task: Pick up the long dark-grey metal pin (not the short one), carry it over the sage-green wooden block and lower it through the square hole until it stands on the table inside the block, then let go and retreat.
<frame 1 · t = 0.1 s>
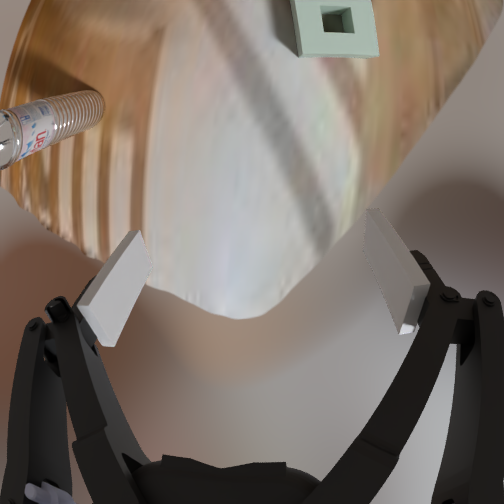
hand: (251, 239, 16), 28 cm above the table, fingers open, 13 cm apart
water bottle: (90, 108, 36), on the table
hole block: (329, 26, 29), on the table
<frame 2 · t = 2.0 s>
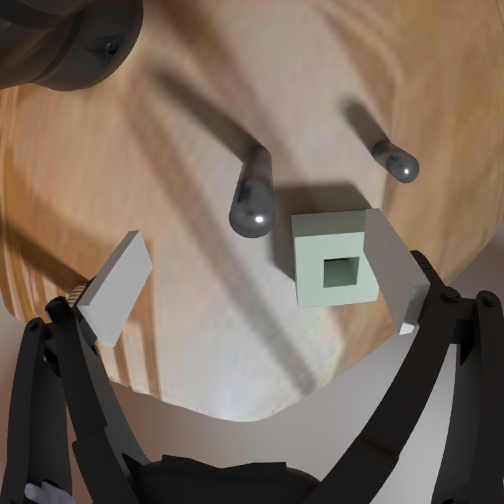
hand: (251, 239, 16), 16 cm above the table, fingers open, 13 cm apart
short pin: (384, 152, 28), on the table
long pin: (257, 158, 29), on the table
hole block: (333, 248, 35), on the table
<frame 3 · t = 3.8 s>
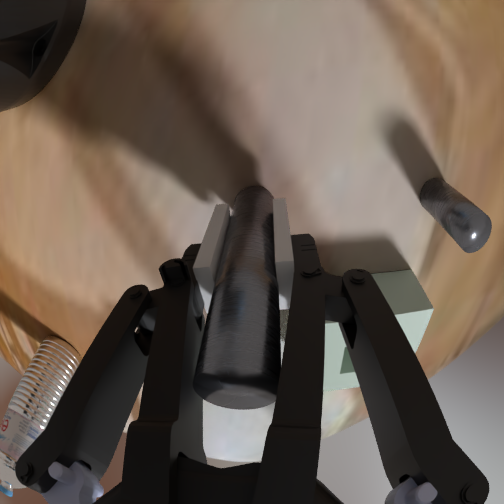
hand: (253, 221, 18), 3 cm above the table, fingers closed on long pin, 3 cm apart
water bottle: (64, 348, 33), on the table
short pin: (434, 194, 18), on the table
long pin: (254, 204, 20), on the table, touching gripper
hole block: (353, 316, 26), on the table
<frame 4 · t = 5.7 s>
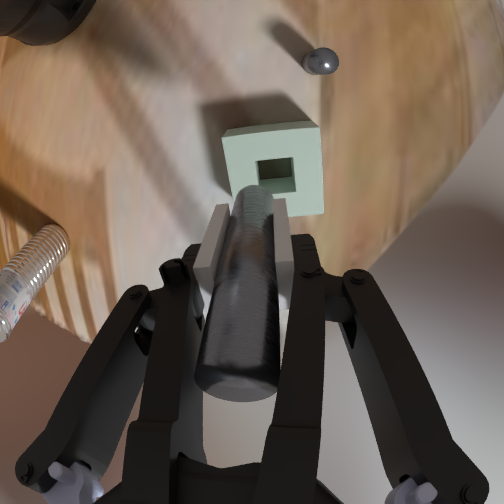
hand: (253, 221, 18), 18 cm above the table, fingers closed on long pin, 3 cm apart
water bottle: (57, 237, 42), on the table
short pin: (314, 63, 27), on the table
long pin: (254, 203, 20), point 16 cm above the table, touching gripper
hole block: (274, 163, 34), on the table
when the fingers open (6 cm above the table, at t = 7.9 s): long pin drops 2 cm, resting in hole block.
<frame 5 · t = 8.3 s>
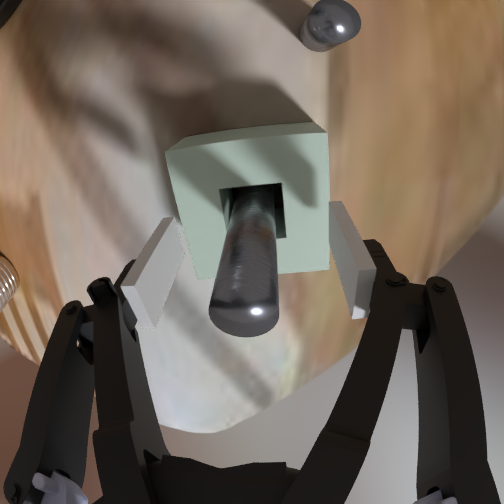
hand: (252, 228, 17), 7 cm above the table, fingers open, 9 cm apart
water bottle: (6, 270, 30), on the table
short pin: (318, 35, 16), on the table
long pin: (256, 187, 23), resting in hole block
hole block: (256, 187, 23), on the table
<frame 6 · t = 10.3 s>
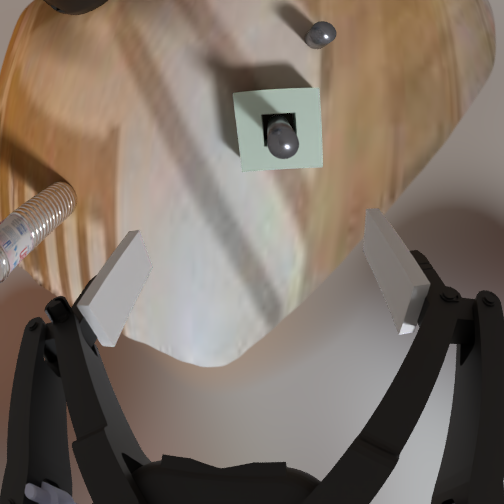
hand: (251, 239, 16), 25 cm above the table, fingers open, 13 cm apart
water bottle: (64, 196, 43), on the table
short pin: (315, 39, 29), on the table
long pin: (277, 124, 36), resting in hole block
hole block: (278, 124, 36), on the table
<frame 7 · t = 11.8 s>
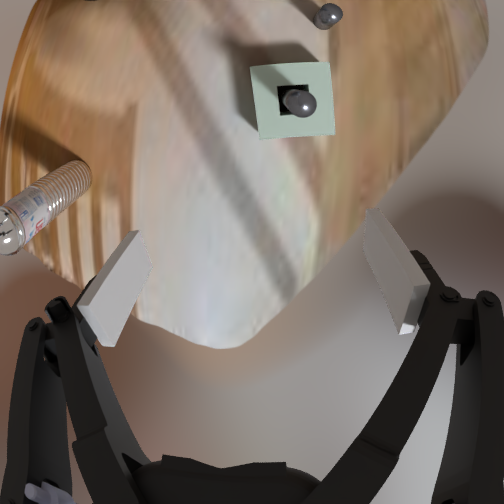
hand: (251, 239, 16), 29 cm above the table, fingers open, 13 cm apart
water bottle: (79, 175, 44), on the table
short pin: (323, 21, 29), on the table
long pin: (290, 98, 36), resting in hole block
hole block: (291, 98, 36), on the table
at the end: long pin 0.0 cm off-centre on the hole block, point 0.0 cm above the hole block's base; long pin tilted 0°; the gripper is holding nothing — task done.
